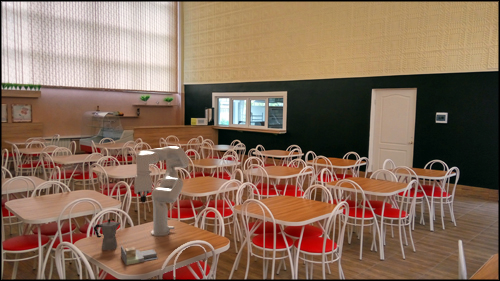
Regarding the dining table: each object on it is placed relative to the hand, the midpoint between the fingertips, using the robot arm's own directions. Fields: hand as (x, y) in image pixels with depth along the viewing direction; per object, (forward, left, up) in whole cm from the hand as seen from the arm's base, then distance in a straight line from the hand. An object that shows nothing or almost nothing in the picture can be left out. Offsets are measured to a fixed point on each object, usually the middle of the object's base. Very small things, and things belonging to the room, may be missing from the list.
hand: (143, 202), depth 232 cm
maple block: (+12, +20, -25) cm, 35 cm away
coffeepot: (+21, -3, -27) cm, 35 cm away
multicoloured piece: (+7, +20, -27) cm, 34 cm away
